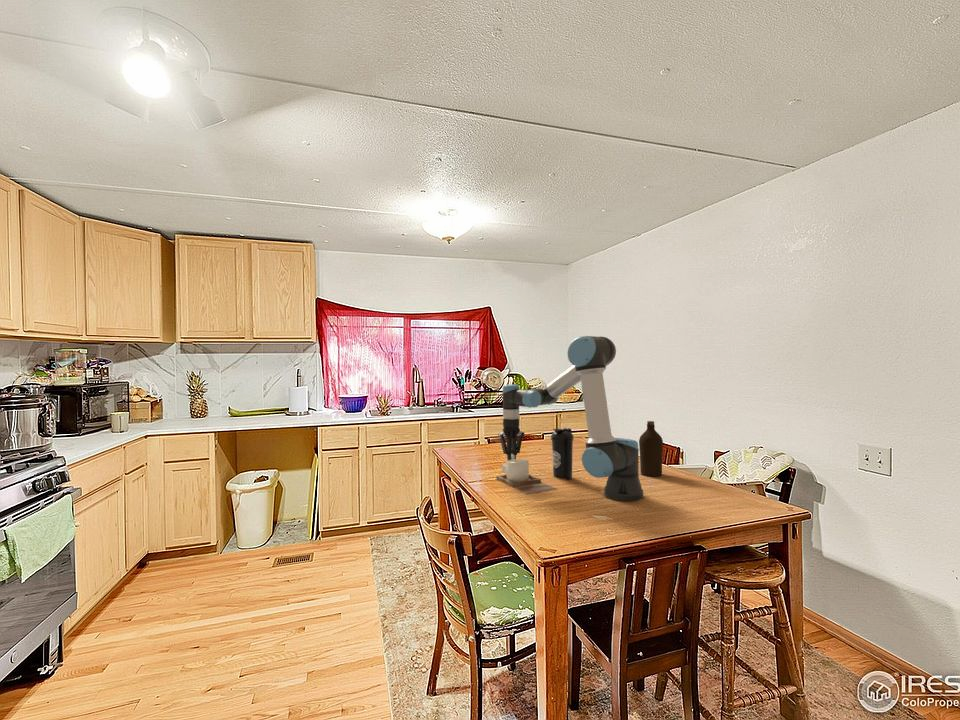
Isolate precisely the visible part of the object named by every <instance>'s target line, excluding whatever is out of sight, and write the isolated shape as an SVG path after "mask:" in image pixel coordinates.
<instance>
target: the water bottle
mask: <svg viewBox="0 0 960 720" xmlns="http://www.w3.org/2000/svg"><path fill="white" fill-rule="evenodd" d="M550 440H551V447H552V448H551V451H552V452H551V453H552V454H551V456H552V472H553V475H552V476H553V477H554V478H556V479H565V480H567V481H571V480H572V479H573V451H574V450H573V449H574V448H573V446H574V444H573V443H574V435H573V433H572V428H570V427H564V428H553V432H552V433H551V435H550Z"/></svg>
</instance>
